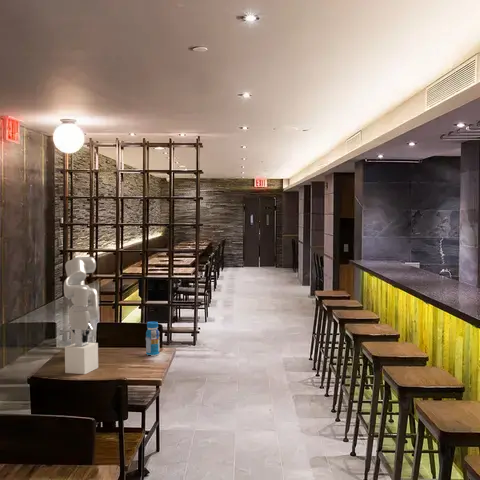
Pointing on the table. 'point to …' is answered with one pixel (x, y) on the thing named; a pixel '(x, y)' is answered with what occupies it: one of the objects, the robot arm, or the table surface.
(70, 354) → the white box with slot
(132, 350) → the table surface
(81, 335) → the white rectangular block
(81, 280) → the robot arm
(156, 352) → the beverage bottle
